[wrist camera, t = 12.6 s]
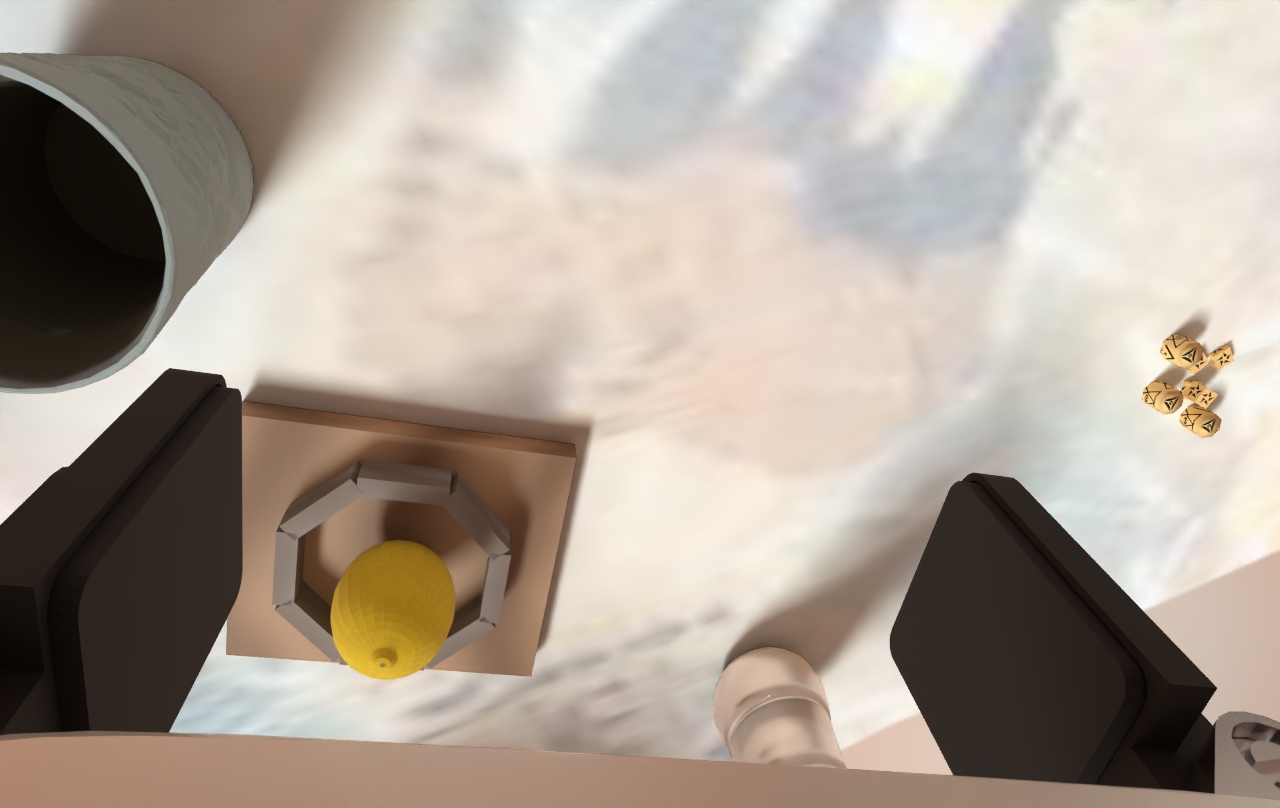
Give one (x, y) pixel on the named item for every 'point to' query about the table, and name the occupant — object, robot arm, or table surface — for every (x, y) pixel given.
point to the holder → (395, 529)
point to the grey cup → (105, 210)
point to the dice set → (1188, 385)
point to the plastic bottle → (775, 711)
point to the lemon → (392, 609)
